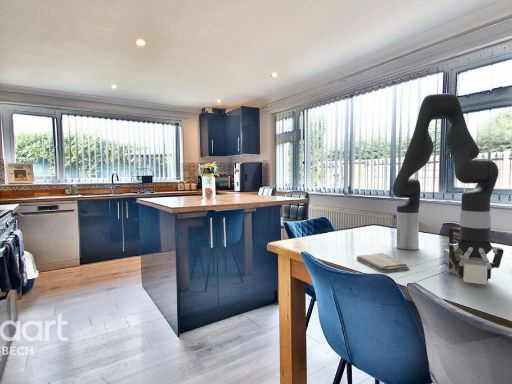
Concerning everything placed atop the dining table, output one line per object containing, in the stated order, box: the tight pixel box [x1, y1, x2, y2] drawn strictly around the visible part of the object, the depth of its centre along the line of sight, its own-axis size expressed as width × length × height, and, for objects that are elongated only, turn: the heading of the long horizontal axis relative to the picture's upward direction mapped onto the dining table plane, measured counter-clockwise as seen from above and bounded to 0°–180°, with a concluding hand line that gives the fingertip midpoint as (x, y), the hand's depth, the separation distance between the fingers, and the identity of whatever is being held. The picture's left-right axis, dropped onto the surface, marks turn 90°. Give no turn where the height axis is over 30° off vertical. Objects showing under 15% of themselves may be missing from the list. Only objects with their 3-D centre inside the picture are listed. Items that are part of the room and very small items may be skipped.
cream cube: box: [462, 260, 488, 285], centre depth 89 cm, size 6×6×6 cm
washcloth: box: [356, 252, 410, 273], centre depth 112 cm, size 12×18×3 cm, turn 13°
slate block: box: [443, 248, 449, 265], centre depth 111 cm, size 5×5×5 cm
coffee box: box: [448, 226, 483, 277], centre depth 97 cm, size 9×6×16 cm
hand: (473, 278), depth 89 cm, fingers closed on cream cube, 5 cm apart
